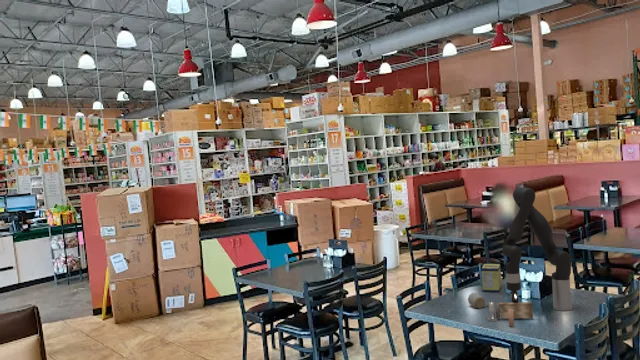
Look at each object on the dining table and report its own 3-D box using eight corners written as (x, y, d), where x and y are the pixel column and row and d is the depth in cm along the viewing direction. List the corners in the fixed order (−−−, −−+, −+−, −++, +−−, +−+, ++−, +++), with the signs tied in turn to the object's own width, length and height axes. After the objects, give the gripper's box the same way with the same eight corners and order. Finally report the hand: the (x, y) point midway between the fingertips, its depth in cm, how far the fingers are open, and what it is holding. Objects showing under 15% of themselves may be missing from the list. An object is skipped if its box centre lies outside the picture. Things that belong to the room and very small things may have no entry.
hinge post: (496, 318, 291) (495, 301, 290) (497, 321, 286) (496, 303, 285) (487, 318, 292) (486, 301, 291) (488, 321, 287) (487, 304, 286)
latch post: (513, 325, 277) (512, 308, 277) (514, 327, 275) (513, 310, 274) (508, 325, 278) (507, 308, 277) (509, 327, 275) (508, 310, 275)
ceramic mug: (475, 309, 308) (474, 296, 308) (467, 306, 316) (467, 293, 316) (491, 307, 311) (490, 294, 310) (483, 303, 319) (483, 291, 318)
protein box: (501, 286, 353) (500, 263, 352) (499, 292, 339) (498, 268, 338) (485, 285, 357) (484, 263, 356) (482, 292, 343) (481, 268, 342)
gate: (496, 318, 287) (495, 304, 287) (496, 317, 290) (495, 302, 289) (533, 318, 283) (532, 303, 283) (532, 316, 286) (531, 302, 285)
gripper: (522, 283, 283) (524, 315, 284) (518, 277, 296) (520, 307, 297) (507, 284, 285) (509, 315, 286) (504, 277, 298) (506, 308, 299)
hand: (515, 311), depth 292 cm, fingers closed
